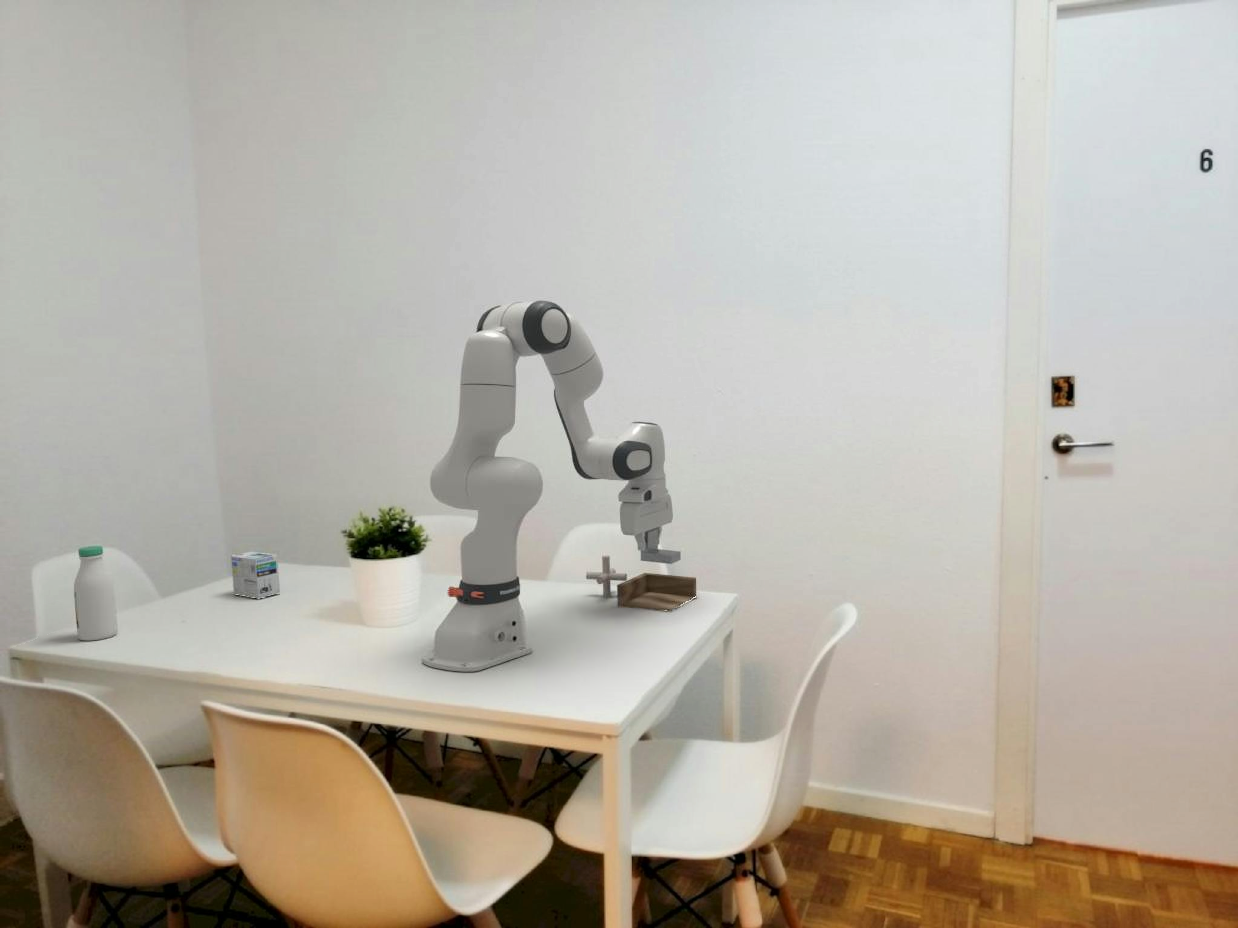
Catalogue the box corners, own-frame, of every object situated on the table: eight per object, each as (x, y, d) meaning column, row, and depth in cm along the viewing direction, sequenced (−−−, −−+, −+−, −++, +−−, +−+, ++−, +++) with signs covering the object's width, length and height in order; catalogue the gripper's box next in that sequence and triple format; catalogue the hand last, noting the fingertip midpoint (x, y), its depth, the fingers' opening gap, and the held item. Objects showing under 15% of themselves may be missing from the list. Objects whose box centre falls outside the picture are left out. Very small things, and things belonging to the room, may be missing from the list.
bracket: (640, 560, 213) (640, 531, 213) (650, 556, 218) (650, 527, 217) (671, 563, 209) (671, 534, 209) (680, 559, 214) (680, 530, 213)
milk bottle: (126, 632, 202) (118, 544, 200) (97, 642, 195) (89, 551, 193) (98, 630, 205) (90, 543, 203) (69, 640, 197) (61, 550, 195)
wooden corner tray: (670, 611, 207) (670, 590, 206) (617, 605, 214) (617, 584, 213) (696, 597, 219) (696, 577, 218) (645, 592, 226) (644, 572, 225)
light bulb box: (281, 594, 235) (278, 553, 234) (258, 600, 229) (255, 558, 228) (255, 590, 240) (252, 550, 239) (232, 595, 235) (229, 555, 234)
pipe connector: (581, 600, 220) (579, 559, 219) (594, 590, 229) (593, 551, 228) (620, 602, 217) (619, 561, 216) (632, 592, 226) (630, 552, 225)
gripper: (655, 484, 224) (656, 539, 225) (614, 495, 206) (616, 554, 208) (678, 485, 221) (679, 540, 222) (638, 496, 203) (640, 556, 205)
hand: (648, 547), depth 215 cm, fingers closed on bracket, 5 cm apart
